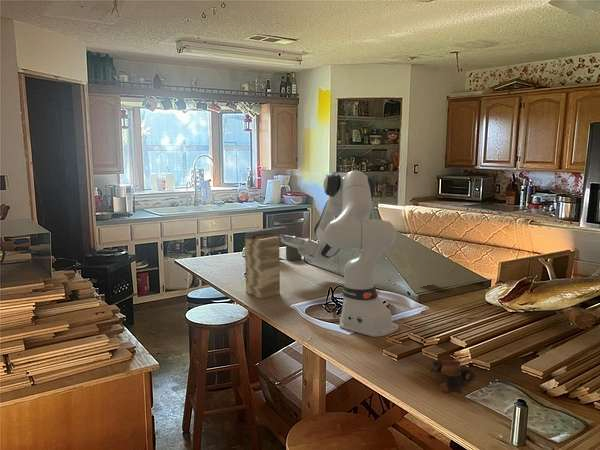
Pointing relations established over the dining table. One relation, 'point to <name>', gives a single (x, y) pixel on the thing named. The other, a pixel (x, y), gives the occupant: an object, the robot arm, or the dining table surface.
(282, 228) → the steel block
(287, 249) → the mug
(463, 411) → the dining table surface
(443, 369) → the pottery mug
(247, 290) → the maple stand
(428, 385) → the dining table surface
